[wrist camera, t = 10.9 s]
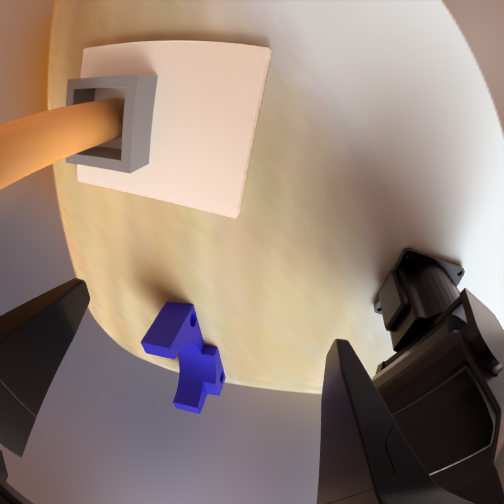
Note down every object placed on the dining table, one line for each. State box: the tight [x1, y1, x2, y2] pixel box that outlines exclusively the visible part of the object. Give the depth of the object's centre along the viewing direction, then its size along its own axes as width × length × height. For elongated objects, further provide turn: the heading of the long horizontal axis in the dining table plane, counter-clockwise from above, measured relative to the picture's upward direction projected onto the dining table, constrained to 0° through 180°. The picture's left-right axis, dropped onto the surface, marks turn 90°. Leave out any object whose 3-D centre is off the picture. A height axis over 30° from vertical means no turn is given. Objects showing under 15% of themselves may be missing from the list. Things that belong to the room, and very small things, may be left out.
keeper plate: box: [66, 40, 272, 219], centre depth 17 cm, size 15×12×4 cm
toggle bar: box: [0, 98, 125, 189], centre depth 13 cm, size 3×3×12 cm
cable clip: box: [141, 302, 226, 414], centre depth 28 cm, size 12×4×6 cm, turn 5°
